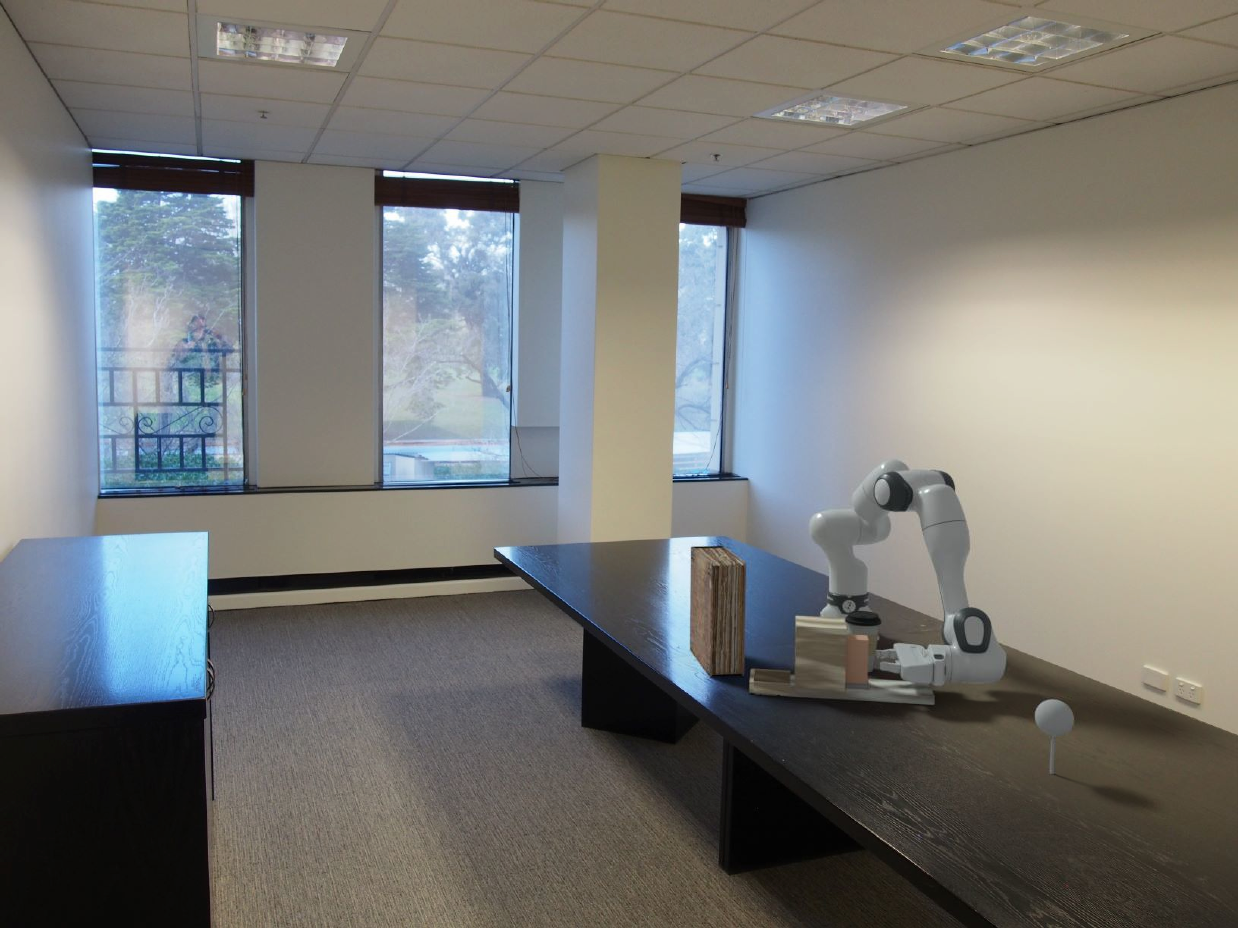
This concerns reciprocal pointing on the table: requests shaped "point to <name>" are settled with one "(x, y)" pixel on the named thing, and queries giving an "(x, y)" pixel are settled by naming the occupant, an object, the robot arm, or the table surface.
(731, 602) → the book
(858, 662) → the block
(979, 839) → the table surface
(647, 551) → the table surface
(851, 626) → the coffee cup
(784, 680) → the tunnel track
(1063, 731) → the lollipop
